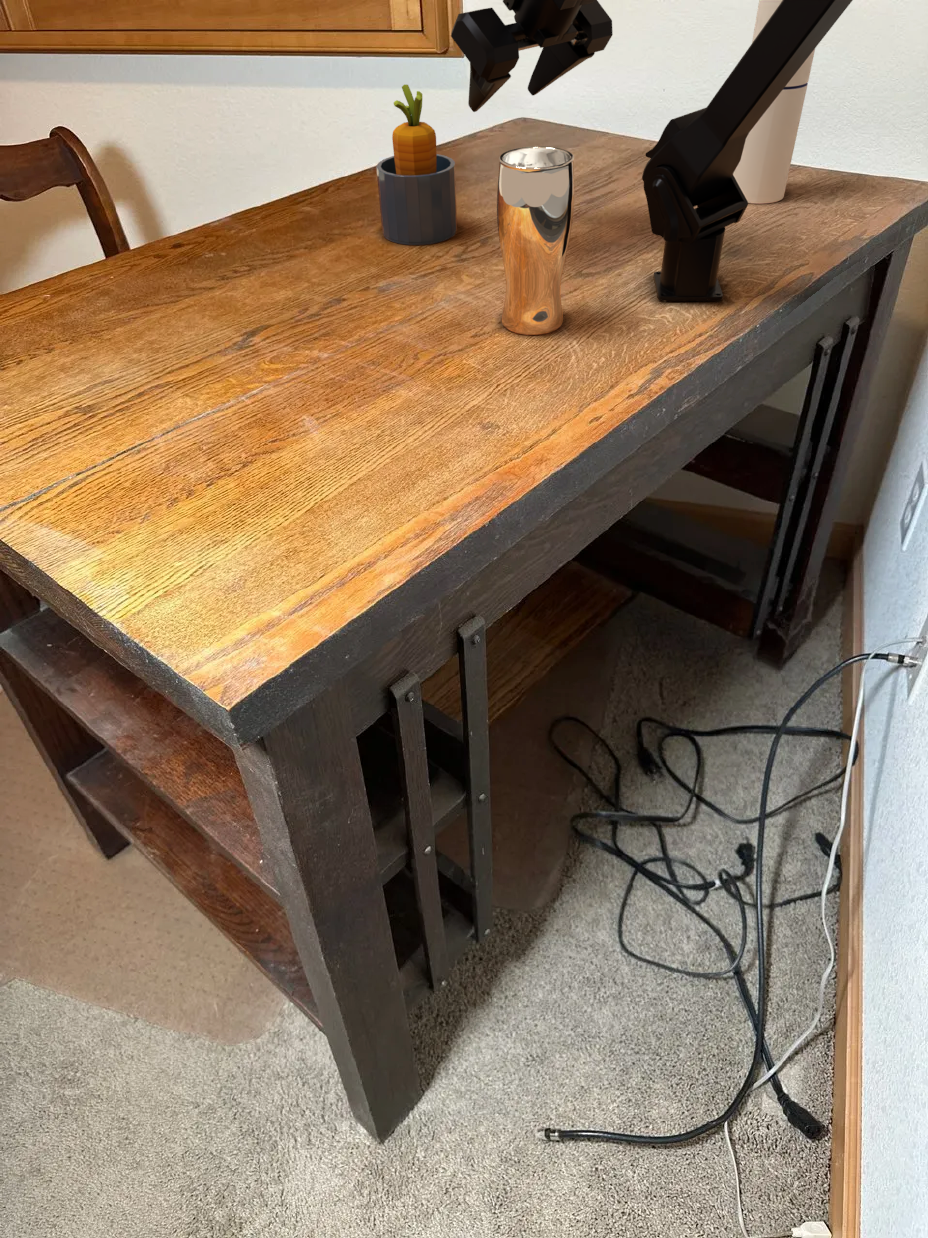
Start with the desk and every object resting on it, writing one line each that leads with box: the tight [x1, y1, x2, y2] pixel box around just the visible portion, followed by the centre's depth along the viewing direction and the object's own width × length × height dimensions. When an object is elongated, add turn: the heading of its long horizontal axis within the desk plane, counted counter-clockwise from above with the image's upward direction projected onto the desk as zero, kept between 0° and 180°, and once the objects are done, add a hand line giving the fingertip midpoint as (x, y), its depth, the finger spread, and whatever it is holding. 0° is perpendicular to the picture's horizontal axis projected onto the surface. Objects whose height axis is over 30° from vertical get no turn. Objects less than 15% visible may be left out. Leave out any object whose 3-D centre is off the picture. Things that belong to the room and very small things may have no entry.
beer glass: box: [496, 145, 575, 336], centre depth 81 cm, size 7×7×15 cm
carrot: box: [391, 84, 437, 175], centre depth 100 cm, size 5×5×15 cm
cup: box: [376, 153, 458, 246], centre depth 103 cm, size 9×9×8 cm
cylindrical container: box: [733, 0, 816, 205], centre depth 103 cm, size 7×7×25 cm
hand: (502, 99), depth 96 cm, fingers open, 9 cm apart
